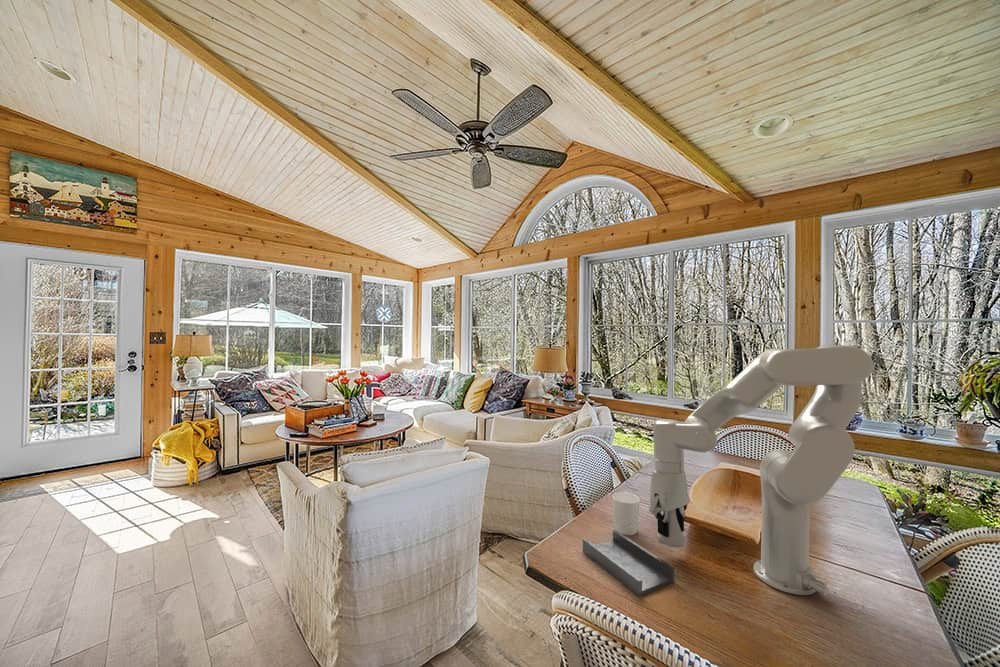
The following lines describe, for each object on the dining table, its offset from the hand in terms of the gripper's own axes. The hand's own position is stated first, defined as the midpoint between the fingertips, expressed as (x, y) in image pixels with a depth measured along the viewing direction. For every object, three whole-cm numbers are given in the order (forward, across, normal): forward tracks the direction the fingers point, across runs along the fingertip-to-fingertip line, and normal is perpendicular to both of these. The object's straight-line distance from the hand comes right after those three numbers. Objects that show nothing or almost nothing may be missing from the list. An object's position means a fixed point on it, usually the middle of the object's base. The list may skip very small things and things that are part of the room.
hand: (670, 531), depth 105 cm
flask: (+3, 0, 0) cm, 3 cm away
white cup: (+6, +1, -16) cm, 17 cm away
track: (+6, +15, -2) cm, 16 cm away
